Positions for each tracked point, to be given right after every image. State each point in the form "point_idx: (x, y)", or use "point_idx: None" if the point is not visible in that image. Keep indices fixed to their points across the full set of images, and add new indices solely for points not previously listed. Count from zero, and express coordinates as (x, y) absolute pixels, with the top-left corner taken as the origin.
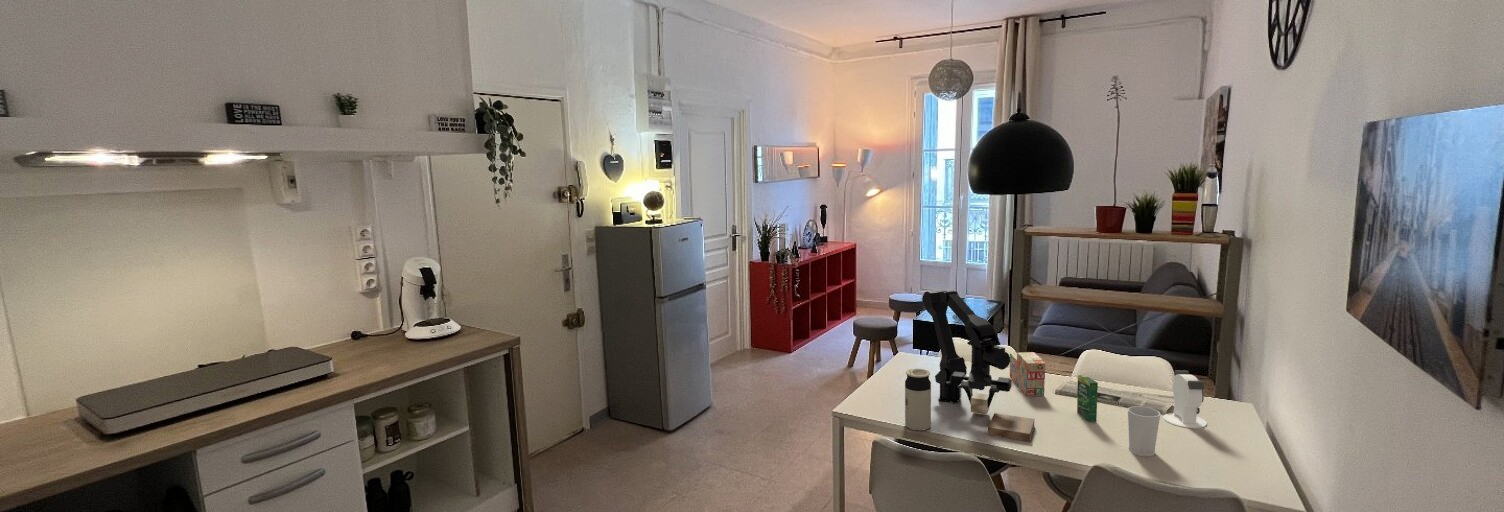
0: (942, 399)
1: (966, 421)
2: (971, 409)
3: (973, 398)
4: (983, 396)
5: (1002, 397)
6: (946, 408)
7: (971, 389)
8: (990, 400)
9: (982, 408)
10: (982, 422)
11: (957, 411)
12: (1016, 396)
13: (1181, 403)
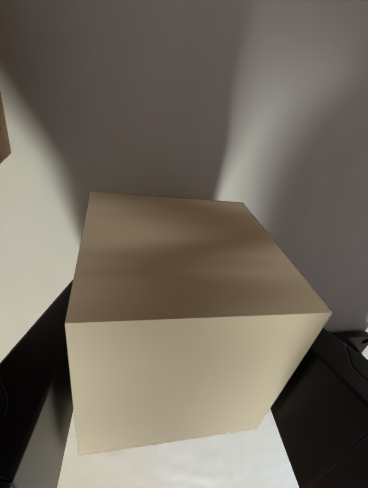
0: (355, 340)
1: (280, 41)
2: (246, 215)
3: (293, 308)
4: (145, 401)
5: (72, 447)
6: (360, 262)
7: (325, 470)
8: (23, 352)
9: (137, 225)
10: (116, 57)
11: (307, 242)
12: None
13: None
